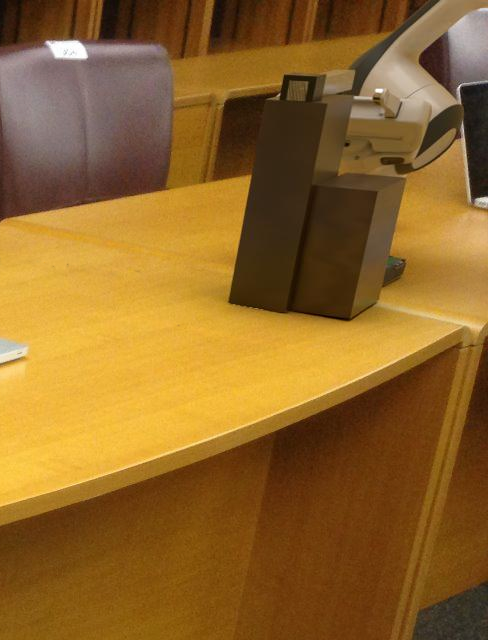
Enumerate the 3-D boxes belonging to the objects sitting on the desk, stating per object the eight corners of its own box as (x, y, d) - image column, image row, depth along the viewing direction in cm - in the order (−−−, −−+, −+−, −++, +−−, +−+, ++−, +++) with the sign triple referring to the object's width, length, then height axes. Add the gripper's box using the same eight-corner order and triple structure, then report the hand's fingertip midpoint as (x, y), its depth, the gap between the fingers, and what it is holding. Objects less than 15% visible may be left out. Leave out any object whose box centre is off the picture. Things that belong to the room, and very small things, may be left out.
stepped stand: (378, 300, 207) (425, 96, 196) (345, 321, 196) (392, 107, 185) (265, 285, 216) (303, 89, 204) (227, 305, 205) (265, 99, 193)
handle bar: (358, 89, 204) (363, 65, 202) (312, 102, 190) (317, 76, 189) (326, 87, 206) (331, 64, 205) (278, 99, 192) (283, 74, 191)
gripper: (287, 110, 222) (270, 64, 211) (440, 120, 211) (431, 72, 199) (273, 152, 223) (255, 108, 211) (425, 164, 211) (415, 118, 200)
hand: (342, 91), depth 205 cm, fingers open, 8 cm apart
